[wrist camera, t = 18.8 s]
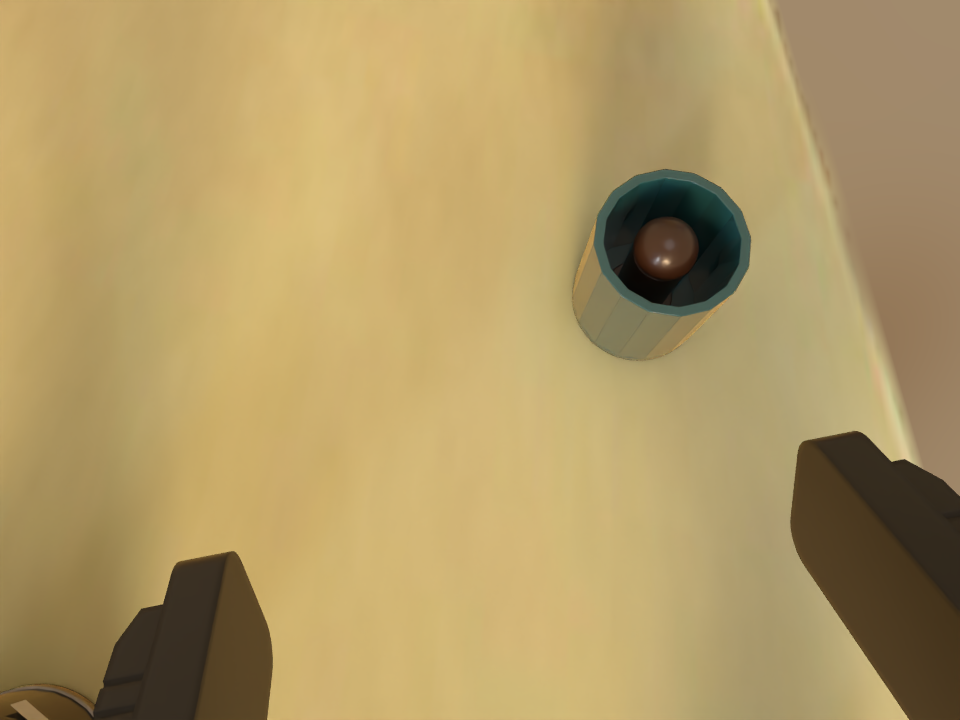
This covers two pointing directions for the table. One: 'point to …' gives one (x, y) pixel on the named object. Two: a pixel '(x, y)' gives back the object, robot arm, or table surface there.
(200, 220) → the table surface
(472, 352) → the table surface
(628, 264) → the game pawn
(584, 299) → the cup
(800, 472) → the robot arm
